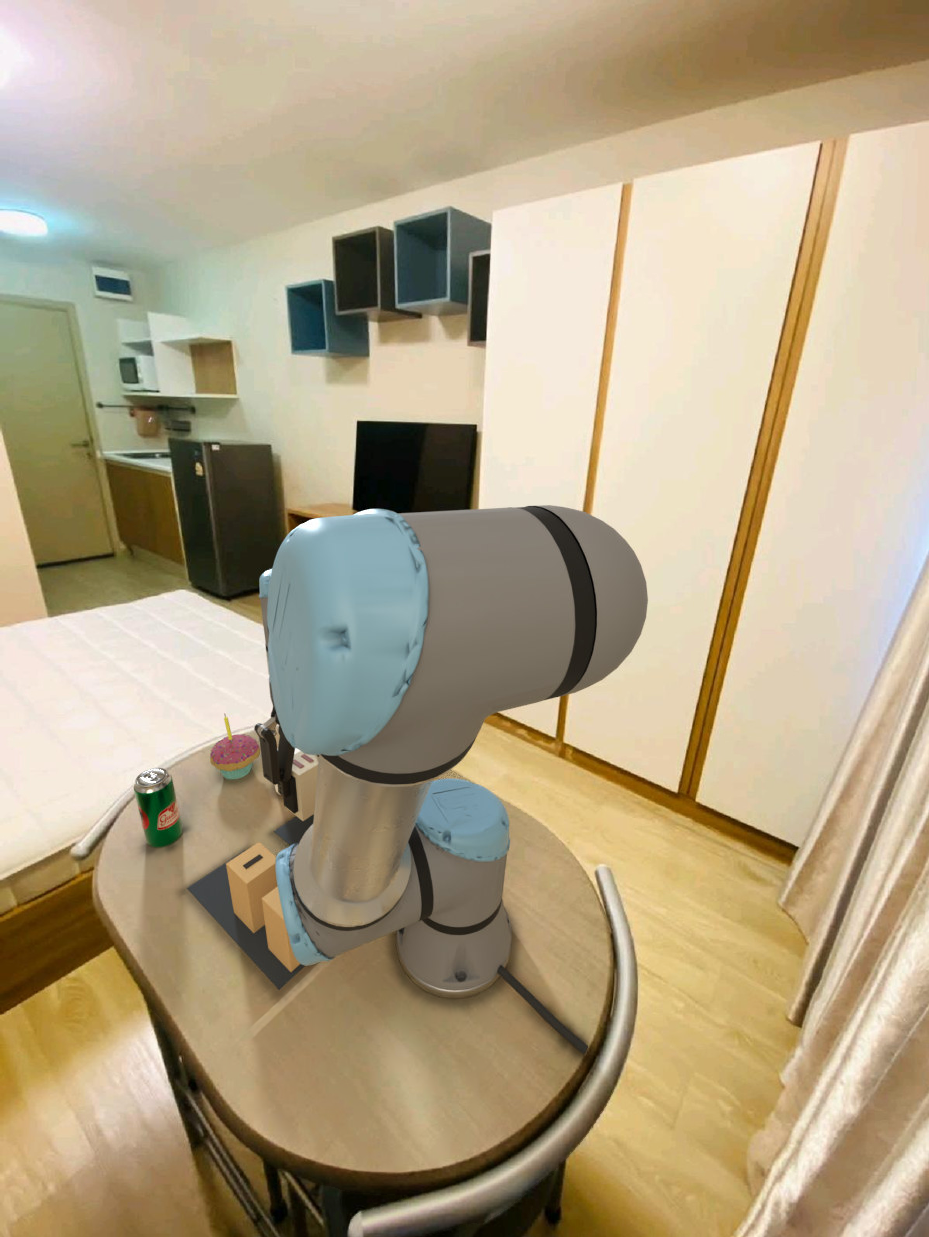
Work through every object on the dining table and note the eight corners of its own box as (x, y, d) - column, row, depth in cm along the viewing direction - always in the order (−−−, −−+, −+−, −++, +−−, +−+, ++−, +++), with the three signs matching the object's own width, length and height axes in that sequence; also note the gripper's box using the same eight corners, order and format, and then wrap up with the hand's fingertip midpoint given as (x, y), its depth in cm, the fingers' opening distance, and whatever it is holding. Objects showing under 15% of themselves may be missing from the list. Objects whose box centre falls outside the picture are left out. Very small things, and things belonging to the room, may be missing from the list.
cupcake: (204, 773, 97) (194, 718, 92) (246, 752, 103) (239, 699, 99) (229, 794, 92) (220, 737, 88) (271, 770, 99) (265, 716, 94)
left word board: (338, 937, 69) (335, 884, 65) (279, 991, 62) (272, 937, 58) (245, 851, 81) (238, 803, 77) (187, 889, 74) (176, 839, 70)
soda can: (167, 853, 80) (154, 790, 75) (139, 846, 81) (123, 784, 76) (190, 829, 84) (178, 769, 80) (162, 823, 85) (149, 763, 81)
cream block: (327, 805, 85) (324, 759, 82) (302, 821, 82) (299, 775, 78) (309, 791, 88) (305, 747, 84) (284, 807, 84) (279, 761, 81)
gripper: (328, 645, 84) (334, 762, 93) (223, 686, 71) (241, 818, 80) (359, 660, 80) (362, 781, 89) (254, 706, 67) (270, 843, 76)
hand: (305, 798), depth 84 cm, fingers closed on cream block, 5 cm apart
